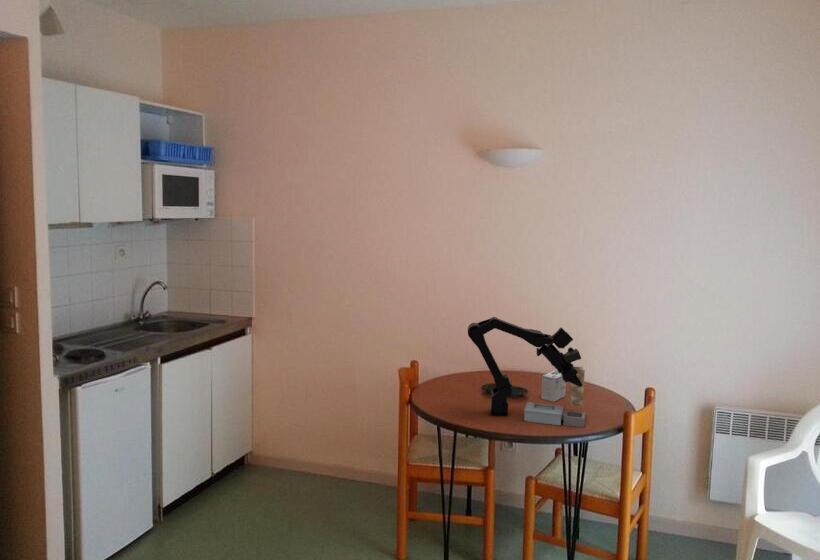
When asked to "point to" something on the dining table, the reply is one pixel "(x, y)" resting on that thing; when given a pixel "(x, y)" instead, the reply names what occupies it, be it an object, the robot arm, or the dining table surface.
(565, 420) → the toolbox
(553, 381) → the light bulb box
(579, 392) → the wooden block
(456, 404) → the dining table surface
